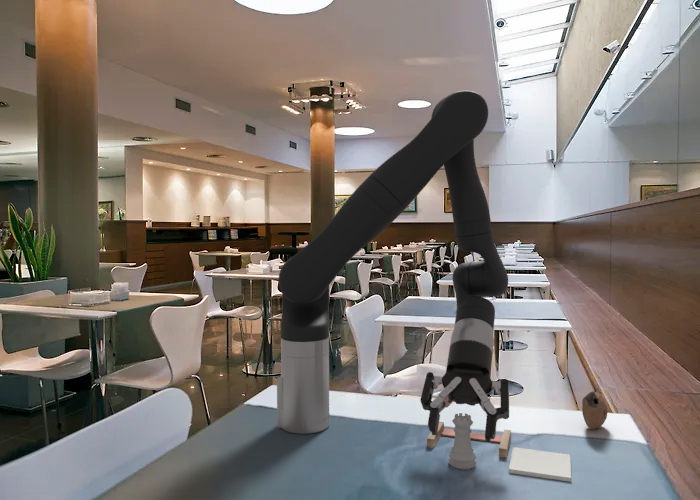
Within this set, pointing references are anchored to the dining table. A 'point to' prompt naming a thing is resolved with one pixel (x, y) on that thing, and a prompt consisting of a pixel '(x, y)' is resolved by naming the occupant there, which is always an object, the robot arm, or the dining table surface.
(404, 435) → the dining table surface
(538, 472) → the tile
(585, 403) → the oil lamp
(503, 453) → the wooden u-shaped frame
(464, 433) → the rook chess piece
